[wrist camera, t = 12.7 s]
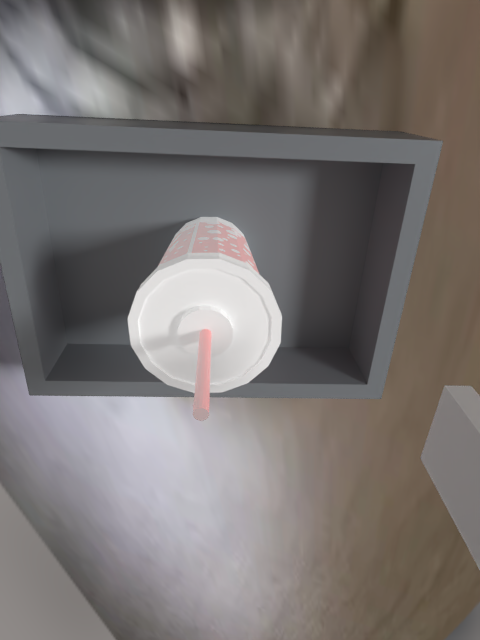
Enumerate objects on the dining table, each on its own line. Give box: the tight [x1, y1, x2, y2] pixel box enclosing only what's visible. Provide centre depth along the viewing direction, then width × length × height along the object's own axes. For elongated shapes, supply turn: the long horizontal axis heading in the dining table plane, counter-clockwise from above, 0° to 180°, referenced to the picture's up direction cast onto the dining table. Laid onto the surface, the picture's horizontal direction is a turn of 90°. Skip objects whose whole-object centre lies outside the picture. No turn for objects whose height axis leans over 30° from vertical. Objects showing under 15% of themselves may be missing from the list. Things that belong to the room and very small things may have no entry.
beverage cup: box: [127, 217, 282, 421], centre depth 19 cm, size 6×6×14 cm
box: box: [0, 114, 443, 399], centre depth 24 cm, size 14×20×5 cm
